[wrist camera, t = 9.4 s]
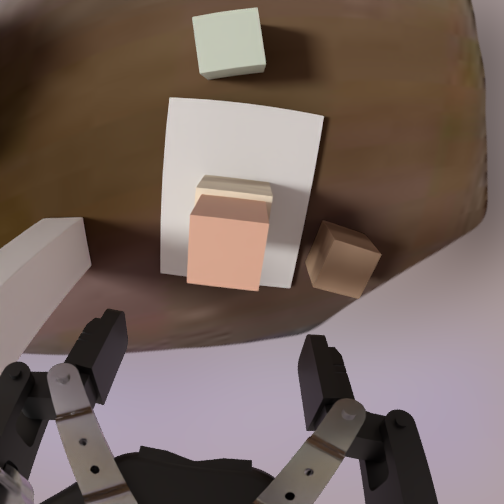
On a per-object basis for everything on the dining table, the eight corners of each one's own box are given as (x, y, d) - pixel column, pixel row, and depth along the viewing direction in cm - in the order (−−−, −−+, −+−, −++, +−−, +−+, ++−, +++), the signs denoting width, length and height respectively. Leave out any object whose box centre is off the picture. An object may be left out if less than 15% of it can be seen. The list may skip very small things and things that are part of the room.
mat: (171, 97, 25) (169, 97, 25) (322, 116, 26) (324, 116, 26) (161, 270, 33) (160, 273, 33) (289, 285, 34) (290, 288, 33)
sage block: (201, 32, 23) (192, 17, 18) (256, 24, 23) (257, 7, 18) (208, 79, 25) (199, 73, 20) (263, 72, 25) (266, 64, 20)
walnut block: (322, 219, 31) (334, 239, 26) (364, 233, 31) (381, 254, 27) (304, 262, 33) (313, 287, 28) (345, 273, 34) (358, 298, 29)
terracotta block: (201, 194, 24) (190, 214, 19) (265, 201, 24) (269, 223, 20) (197, 252, 26) (186, 282, 21) (256, 258, 26) (258, 291, 22)
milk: (53, 263, 33) (-54, 388, 13) (43, 217, 30) (-90, 328, 10) (93, 265, 33) (-14, 411, 13) (84, 215, 30) (-57, 346, 10)
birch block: (204, 174, 28) (195, 187, 24) (269, 182, 28) (273, 196, 24) (199, 234, 31) (191, 256, 26) (260, 241, 31) (261, 265, 26)
